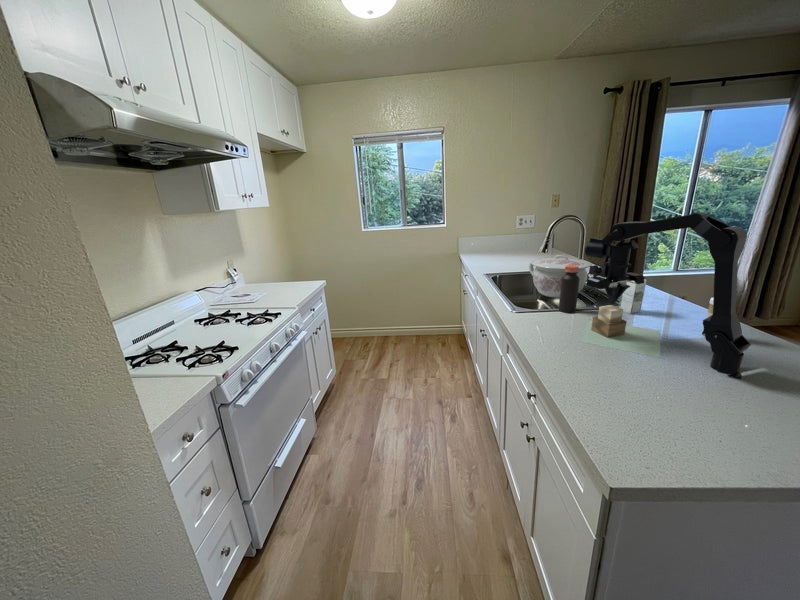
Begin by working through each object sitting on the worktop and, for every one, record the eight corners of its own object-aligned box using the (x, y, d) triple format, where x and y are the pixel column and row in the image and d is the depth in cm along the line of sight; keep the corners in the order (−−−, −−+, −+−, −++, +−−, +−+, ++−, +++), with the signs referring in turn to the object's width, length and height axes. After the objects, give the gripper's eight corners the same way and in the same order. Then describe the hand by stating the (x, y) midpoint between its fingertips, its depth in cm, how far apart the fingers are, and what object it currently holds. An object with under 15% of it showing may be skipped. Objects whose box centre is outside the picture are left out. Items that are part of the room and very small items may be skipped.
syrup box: (627, 308, 139) (632, 276, 135) (640, 312, 134) (647, 279, 129) (617, 310, 138) (622, 277, 133) (630, 314, 132) (636, 280, 128)
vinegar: (571, 314, 136) (577, 268, 130) (555, 310, 141) (560, 266, 135) (578, 310, 140) (583, 265, 134) (562, 307, 145) (567, 264, 139)
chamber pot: (597, 303, 147) (603, 259, 141) (534, 303, 152) (538, 260, 146) (576, 286, 174) (580, 249, 167) (523, 287, 179) (526, 250, 172)
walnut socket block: (624, 334, 113) (626, 321, 111) (607, 337, 111) (609, 323, 110) (607, 327, 119) (609, 314, 118) (591, 330, 118) (592, 317, 116)
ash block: (621, 322, 112) (623, 309, 111) (609, 324, 111) (611, 311, 110) (608, 317, 117) (610, 305, 115) (597, 319, 116) (599, 306, 114)
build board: (659, 359, 97) (660, 357, 97) (578, 343, 110) (579, 341, 110) (659, 332, 115) (659, 330, 115) (589, 321, 128) (589, 319, 128)
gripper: (620, 254, 117) (613, 294, 121) (577, 259, 113) (572, 300, 118) (649, 259, 106) (641, 303, 111) (603, 264, 102) (596, 310, 107)
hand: (611, 304), depth 112 cm, fingers closed
